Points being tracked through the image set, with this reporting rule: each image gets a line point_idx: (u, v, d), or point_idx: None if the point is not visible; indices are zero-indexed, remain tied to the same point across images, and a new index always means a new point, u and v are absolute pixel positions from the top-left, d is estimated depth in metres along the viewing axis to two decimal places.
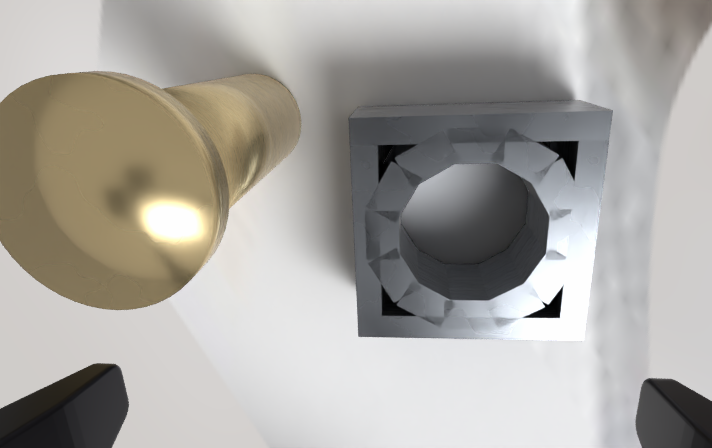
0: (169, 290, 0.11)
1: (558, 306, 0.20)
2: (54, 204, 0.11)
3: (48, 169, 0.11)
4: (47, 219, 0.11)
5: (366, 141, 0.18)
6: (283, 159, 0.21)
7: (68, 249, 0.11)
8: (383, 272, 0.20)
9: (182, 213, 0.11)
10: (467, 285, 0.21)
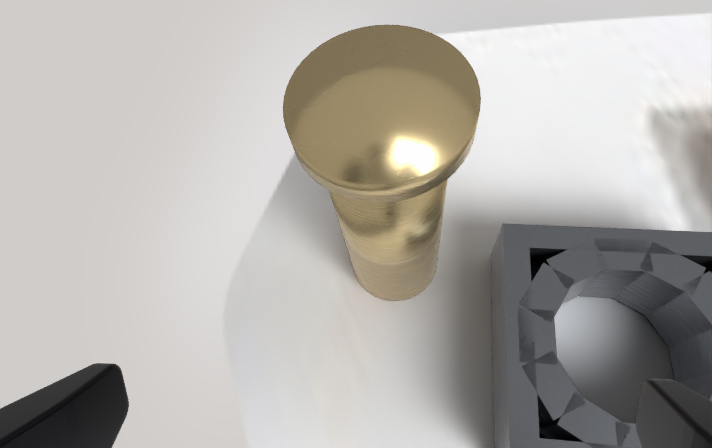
0: (427, 167, 0.12)
1: None
2: (345, 99, 0.13)
3: (350, 76, 0.14)
4: (334, 109, 0.13)
5: (519, 243, 0.20)
6: (420, 287, 0.23)
7: (343, 131, 0.13)
8: (539, 379, 0.18)
9: (453, 107, 0.13)
10: None
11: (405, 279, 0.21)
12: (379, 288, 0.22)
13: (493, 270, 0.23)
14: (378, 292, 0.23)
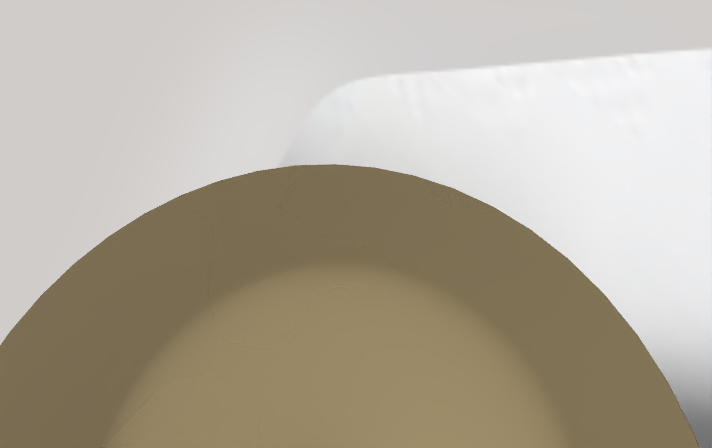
0: None
1: None
2: None
3: (188, 386, 0.04)
4: None
5: None
6: None
7: None
8: None
9: None
10: None
11: None
12: None
13: None
14: None
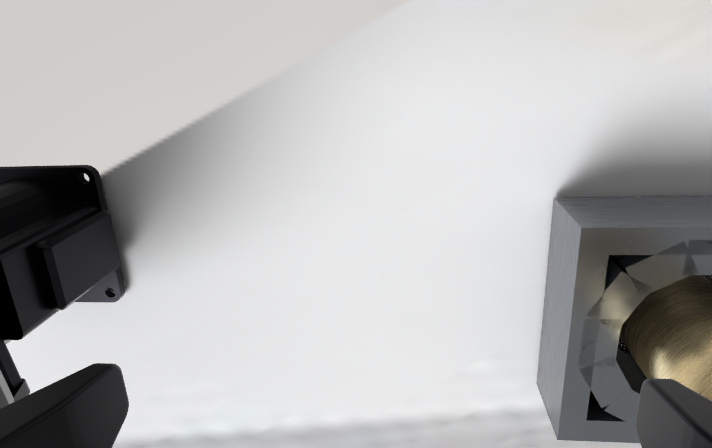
0: None
1: (592, 414, 0.20)
2: None
3: None
4: None
5: None
6: None
7: None
8: (668, 257, 0.17)
9: None
10: None
11: (629, 349, 0.19)
12: None
13: None
14: None
